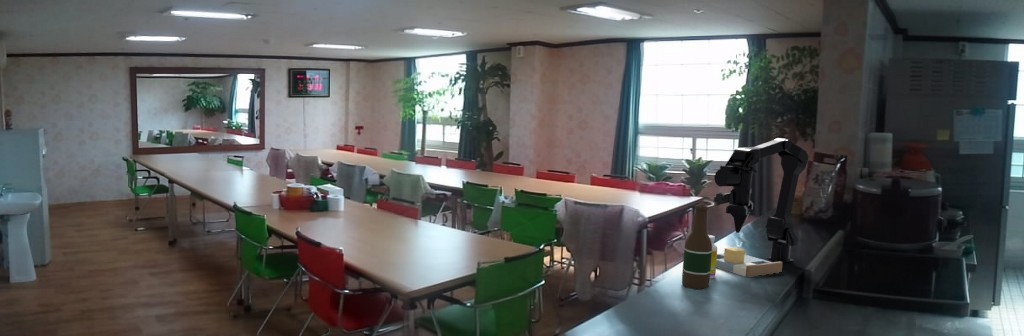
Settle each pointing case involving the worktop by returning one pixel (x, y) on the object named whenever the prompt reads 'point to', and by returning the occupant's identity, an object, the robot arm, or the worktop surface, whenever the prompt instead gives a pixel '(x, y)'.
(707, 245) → the beer bottle
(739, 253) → the block
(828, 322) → the worktop surface
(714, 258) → the supplement bottle
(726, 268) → the board
